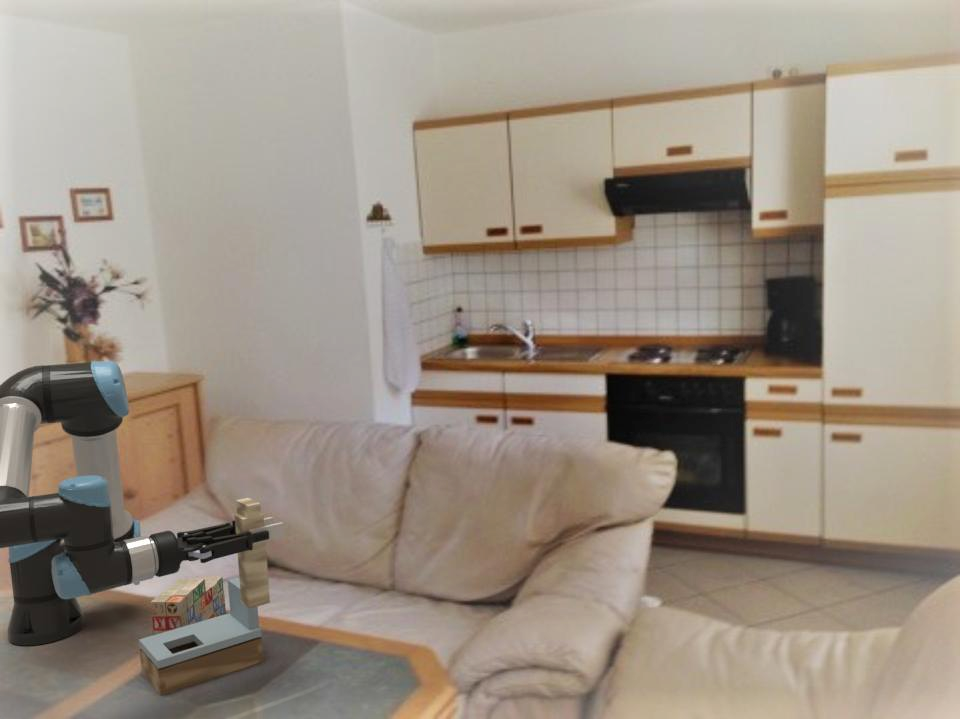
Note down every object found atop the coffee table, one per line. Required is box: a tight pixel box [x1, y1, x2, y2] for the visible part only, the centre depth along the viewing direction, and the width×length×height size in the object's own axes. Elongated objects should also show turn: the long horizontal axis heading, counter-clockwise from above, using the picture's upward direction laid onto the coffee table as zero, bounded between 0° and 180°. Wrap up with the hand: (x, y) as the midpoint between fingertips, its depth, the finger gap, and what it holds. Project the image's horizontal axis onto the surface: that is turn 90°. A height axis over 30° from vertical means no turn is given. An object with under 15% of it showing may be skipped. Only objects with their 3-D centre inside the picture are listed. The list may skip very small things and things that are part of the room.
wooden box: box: [139, 636, 264, 697], centre depth 166 cm, size 12×20×6 cm, turn 128°
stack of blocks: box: [150, 576, 227, 635], centre depth 182 cm, size 21×6×12 cm, turn 174°
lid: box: [138, 577, 263, 669], centre depth 165 cm, size 12×20×9 cm, turn 128°
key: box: [234, 497, 271, 608], centre depth 158 cm, size 6×4×20 cm
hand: (277, 526), depth 161 cm, fingers closed on key, 4 cm apart
